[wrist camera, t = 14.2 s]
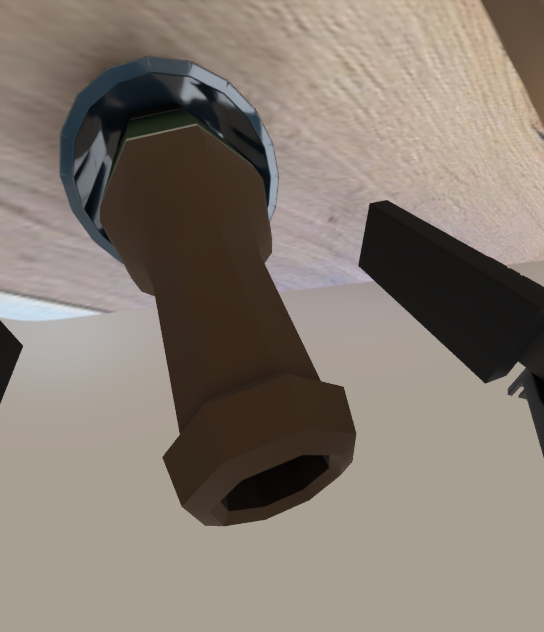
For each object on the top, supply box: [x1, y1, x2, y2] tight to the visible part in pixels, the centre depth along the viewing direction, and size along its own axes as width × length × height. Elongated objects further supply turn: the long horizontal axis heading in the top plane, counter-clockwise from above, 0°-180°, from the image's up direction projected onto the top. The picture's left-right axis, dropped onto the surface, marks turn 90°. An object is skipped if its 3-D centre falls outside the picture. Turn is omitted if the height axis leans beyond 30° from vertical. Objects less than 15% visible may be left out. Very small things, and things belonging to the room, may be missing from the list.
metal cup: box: [60, 56, 279, 264], centre depth 20 cm, size 12×12×8 cm
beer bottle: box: [100, 103, 356, 526], centre depth 14 cm, size 8×8×24 cm
